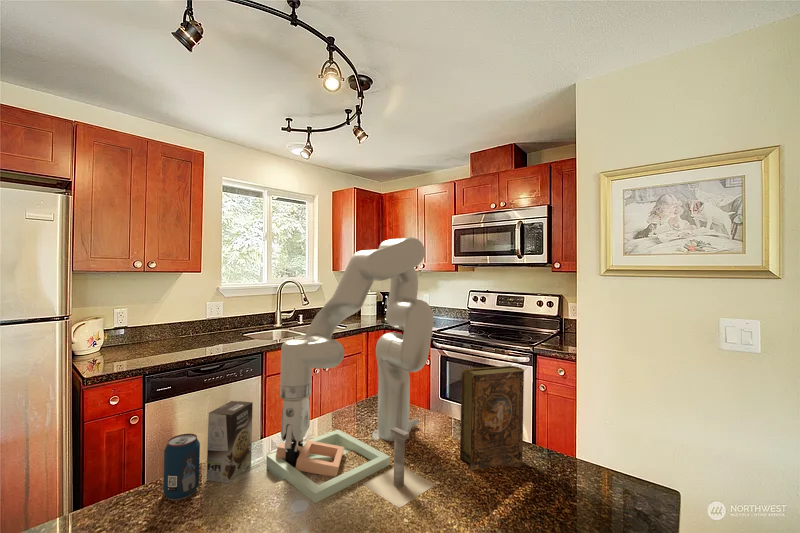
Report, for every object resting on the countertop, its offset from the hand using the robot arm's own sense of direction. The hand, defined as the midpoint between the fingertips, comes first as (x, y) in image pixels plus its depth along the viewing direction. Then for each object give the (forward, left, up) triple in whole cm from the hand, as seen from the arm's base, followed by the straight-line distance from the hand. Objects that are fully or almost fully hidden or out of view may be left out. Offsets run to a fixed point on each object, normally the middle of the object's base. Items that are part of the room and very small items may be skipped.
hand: (294, 462), depth 93 cm
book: (-38, +34, -2) cm, 51 cm away
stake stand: (-13, +25, -2) cm, 28 cm away
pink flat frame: (-3, +3, +1) cm, 4 cm away
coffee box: (+12, -10, -2) cm, 16 cm away
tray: (-6, +6, -2) cm, 9 cm away
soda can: (+23, -9, -2) cm, 25 cm away
